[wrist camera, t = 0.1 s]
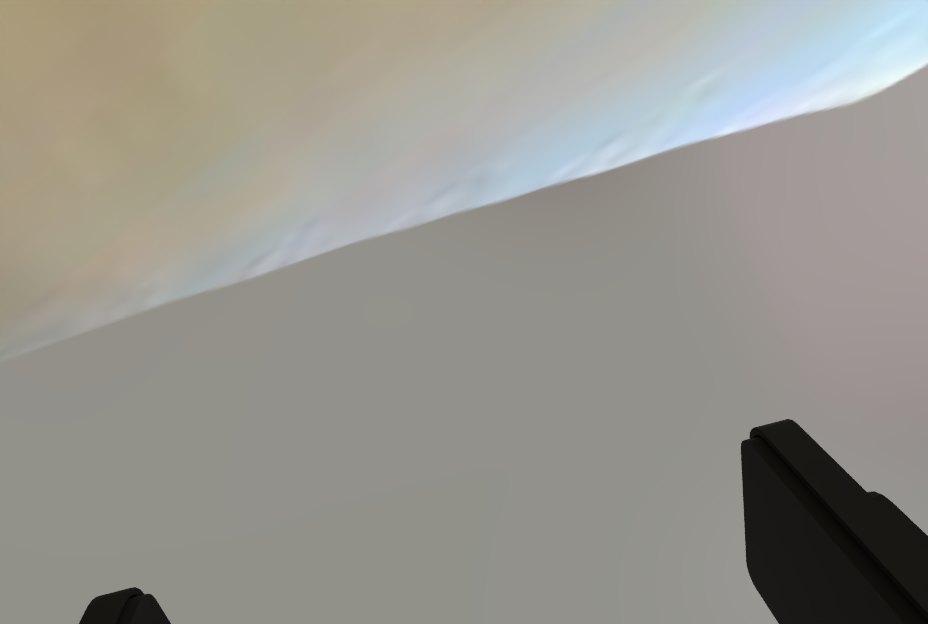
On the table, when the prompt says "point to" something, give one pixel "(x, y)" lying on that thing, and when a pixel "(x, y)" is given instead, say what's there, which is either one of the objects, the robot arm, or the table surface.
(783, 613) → the robot arm
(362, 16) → the table surface
